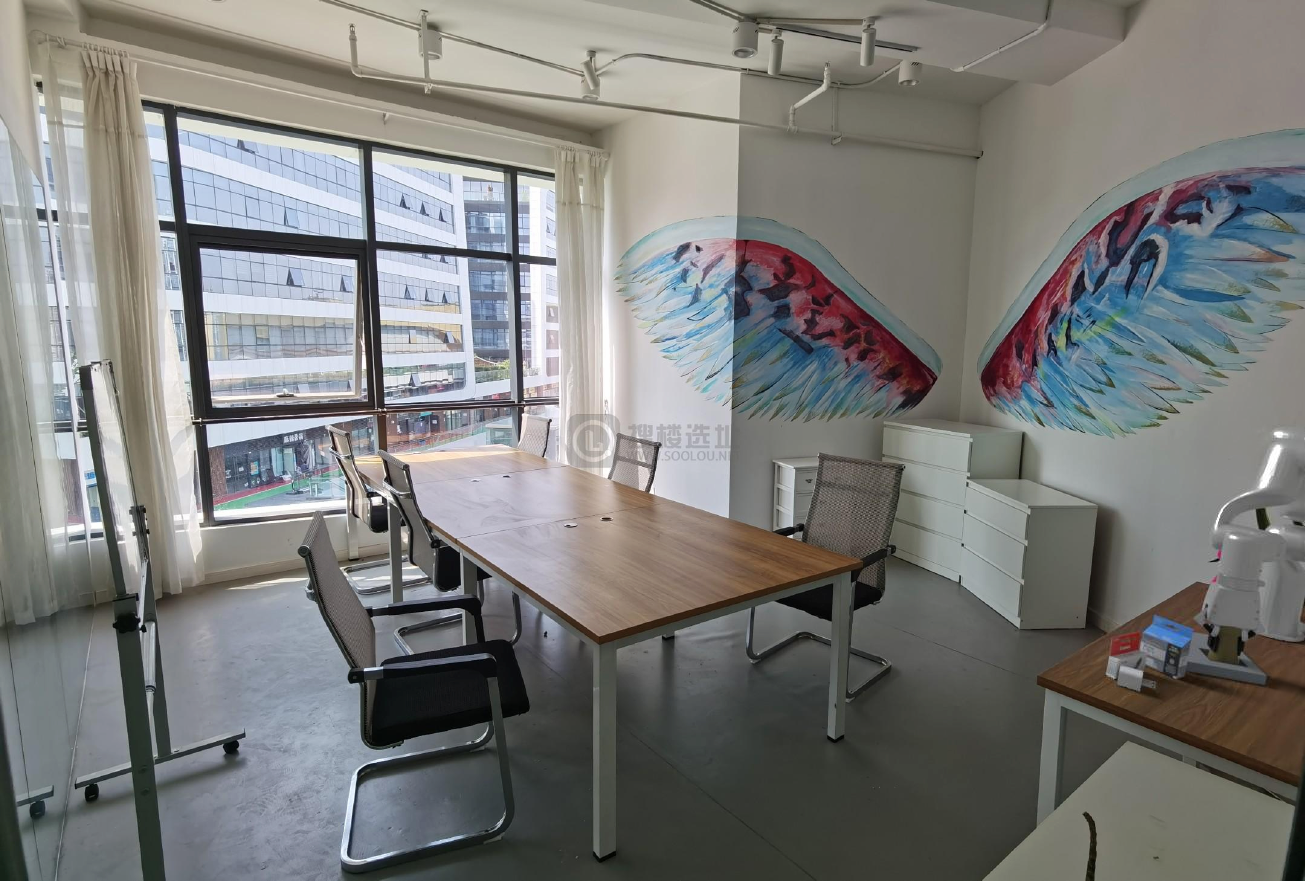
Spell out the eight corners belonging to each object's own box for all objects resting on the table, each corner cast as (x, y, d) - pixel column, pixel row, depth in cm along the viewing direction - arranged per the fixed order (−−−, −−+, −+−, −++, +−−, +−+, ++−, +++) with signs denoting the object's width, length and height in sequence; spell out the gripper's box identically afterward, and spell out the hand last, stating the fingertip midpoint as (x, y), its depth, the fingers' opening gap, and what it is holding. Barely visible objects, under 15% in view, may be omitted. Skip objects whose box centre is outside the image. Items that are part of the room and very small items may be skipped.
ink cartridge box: (1144, 673, 158) (1150, 635, 157) (1115, 680, 154) (1121, 642, 152) (1133, 668, 161) (1139, 631, 159) (1104, 675, 156) (1110, 637, 155)
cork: (1199, 657, 165) (1207, 616, 164) (1221, 657, 166) (1228, 616, 164) (1222, 669, 160) (1230, 627, 158) (1244, 669, 160) (1252, 627, 158)
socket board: (1225, 646, 174) (1226, 637, 174) (1264, 685, 154) (1266, 675, 154) (1153, 634, 180) (1154, 625, 180) (1182, 670, 160) (1184, 660, 160)
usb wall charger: (1118, 679, 155) (1120, 664, 154) (1154, 690, 150) (1157, 674, 150) (1116, 686, 152) (1119, 670, 151) (1153, 697, 147) (1156, 680, 147)
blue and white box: (1136, 662, 163) (1144, 616, 161) (1145, 660, 165) (1153, 614, 163) (1176, 679, 155) (1184, 631, 153) (1185, 677, 157) (1194, 629, 155)
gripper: (1272, 583, 160) (1259, 652, 163) (1189, 571, 166) (1177, 638, 169) (1288, 593, 153) (1274, 665, 156) (1200, 581, 159) (1188, 651, 162)
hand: (1224, 650), depth 162 cm, fingers closed on cork, 4 cm apart
